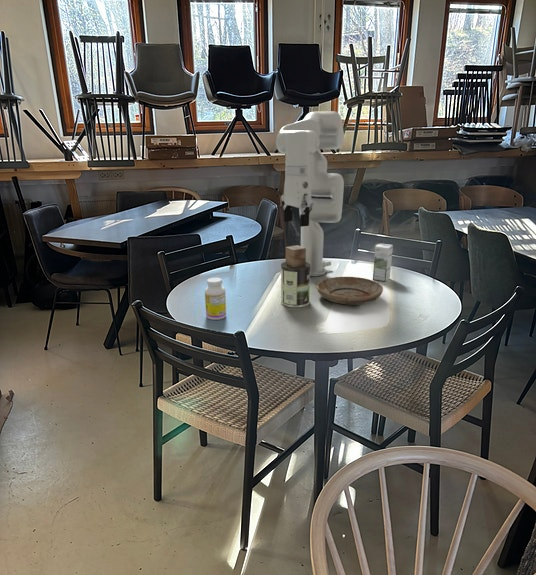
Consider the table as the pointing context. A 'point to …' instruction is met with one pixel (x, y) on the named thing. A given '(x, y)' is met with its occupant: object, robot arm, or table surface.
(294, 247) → the walnut block
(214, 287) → the supplement bottle
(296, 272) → the coffee can
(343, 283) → the wooden plate
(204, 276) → the table surface
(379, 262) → the syrup box
